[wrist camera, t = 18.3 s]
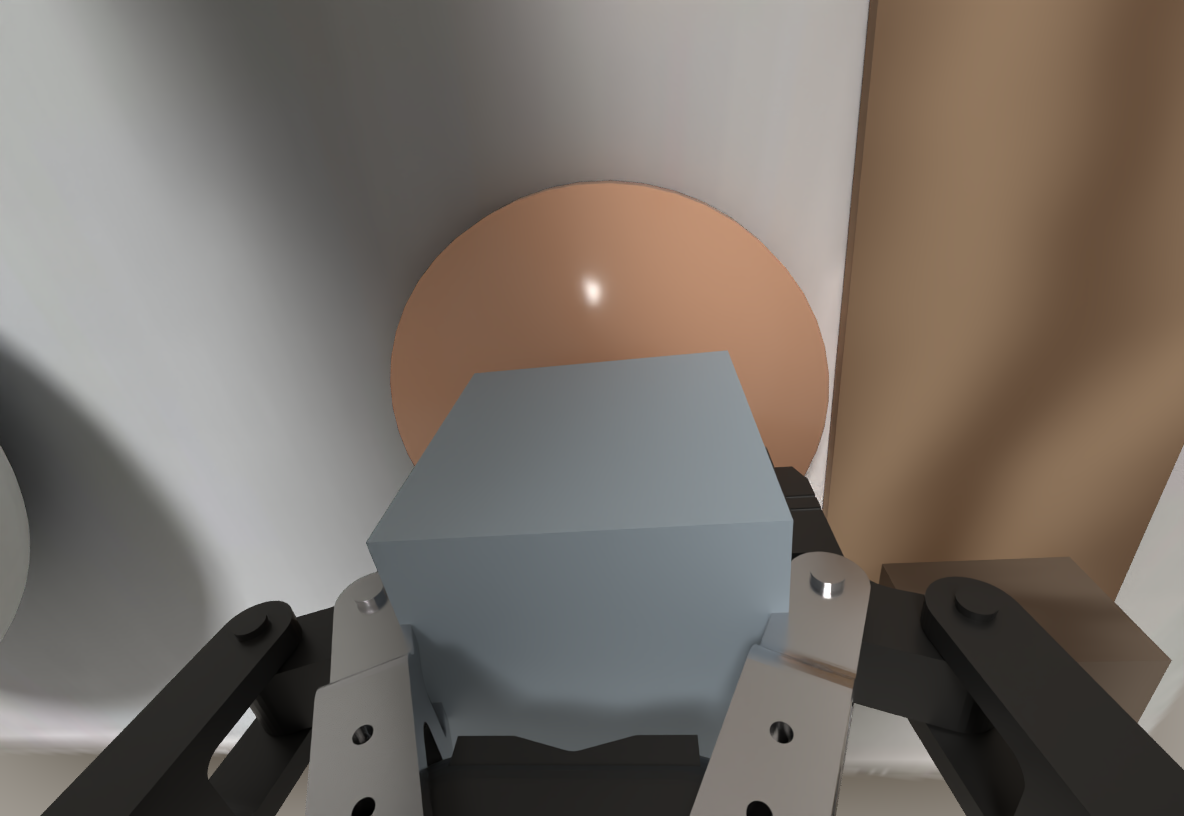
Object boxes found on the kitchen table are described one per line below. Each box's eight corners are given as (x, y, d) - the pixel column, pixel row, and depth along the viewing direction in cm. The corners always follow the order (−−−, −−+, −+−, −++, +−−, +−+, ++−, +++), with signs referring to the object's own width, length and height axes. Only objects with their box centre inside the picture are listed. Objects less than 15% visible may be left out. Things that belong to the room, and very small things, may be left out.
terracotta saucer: (457, 559, 21) (448, 583, 20) (350, 210, 15) (329, 216, 14) (803, 545, 20) (813, 569, 19) (834, 150, 14) (850, 153, 13)
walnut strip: (811, 632, 22) (850, 747, 18) (878, -88, 12) (1004, -195, 8) (1088, 625, 21) (1196, 747, 17) (1431, -183, 10) (1917, -365, 6)
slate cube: (520, 560, 16) (463, 779, 11) (474, 373, 13) (366, 542, 8) (730, 551, 15) (780, 780, 10) (727, 350, 13) (792, 520, 7)
